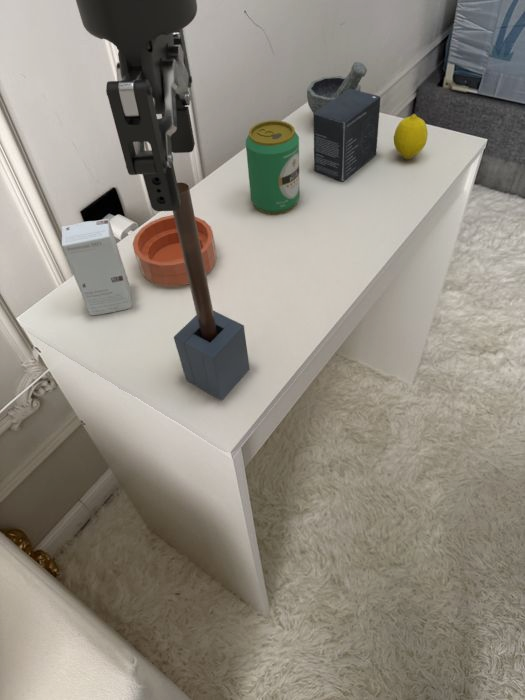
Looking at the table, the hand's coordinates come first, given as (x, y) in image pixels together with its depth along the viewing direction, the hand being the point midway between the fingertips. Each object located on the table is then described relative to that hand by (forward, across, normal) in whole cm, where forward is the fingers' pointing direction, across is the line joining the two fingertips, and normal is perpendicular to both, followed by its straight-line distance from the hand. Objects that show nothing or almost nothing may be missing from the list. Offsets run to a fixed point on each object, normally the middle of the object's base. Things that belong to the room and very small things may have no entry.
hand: (175, 177), depth 43 cm
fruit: (+27, -48, +29) cm, 62 cm away
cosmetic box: (+27, -13, -16) cm, 34 cm away
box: (+27, -47, +18) cm, 57 cm away
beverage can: (+27, -36, +6) cm, 46 cm away
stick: (+27, 0, 0) cm, 27 cm away
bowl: (+27, -21, -8) cm, 35 cm away
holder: (+27, 0, 0) cm, 27 cm away
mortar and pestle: (+27, -61, +17) cm, 69 cm away
